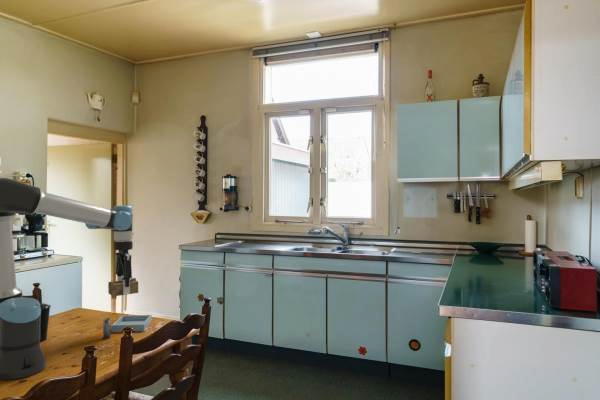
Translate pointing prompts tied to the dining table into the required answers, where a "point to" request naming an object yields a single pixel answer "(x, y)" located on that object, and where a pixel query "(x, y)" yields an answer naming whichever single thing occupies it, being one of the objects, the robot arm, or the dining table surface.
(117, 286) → the grey-brown rectangular block
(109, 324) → the stake
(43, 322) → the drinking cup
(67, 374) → the dining table surface
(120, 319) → the tray
